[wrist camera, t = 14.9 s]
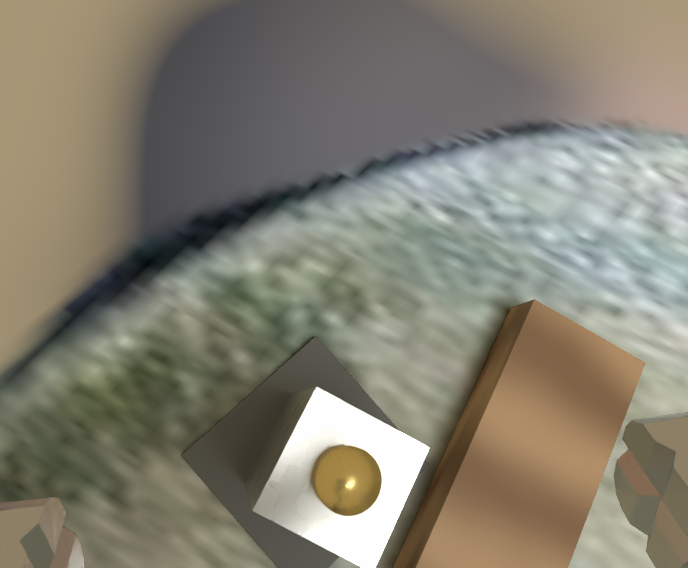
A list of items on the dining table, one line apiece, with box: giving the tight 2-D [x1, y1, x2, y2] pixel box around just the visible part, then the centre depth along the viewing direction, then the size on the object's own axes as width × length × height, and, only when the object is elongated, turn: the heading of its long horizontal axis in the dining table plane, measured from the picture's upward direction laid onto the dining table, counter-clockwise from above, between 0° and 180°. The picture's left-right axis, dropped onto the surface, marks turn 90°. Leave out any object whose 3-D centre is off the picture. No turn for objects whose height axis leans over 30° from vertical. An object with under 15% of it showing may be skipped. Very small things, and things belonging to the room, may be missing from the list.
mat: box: [181, 336, 429, 568], centre depth 33 cm, size 9×9×1 cm
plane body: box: [393, 299, 645, 568], centre depth 31 cm, size 20×7×6 cm, turn 152°
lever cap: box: [244, 387, 430, 568], centre depth 28 cm, size 5×5×10 cm
